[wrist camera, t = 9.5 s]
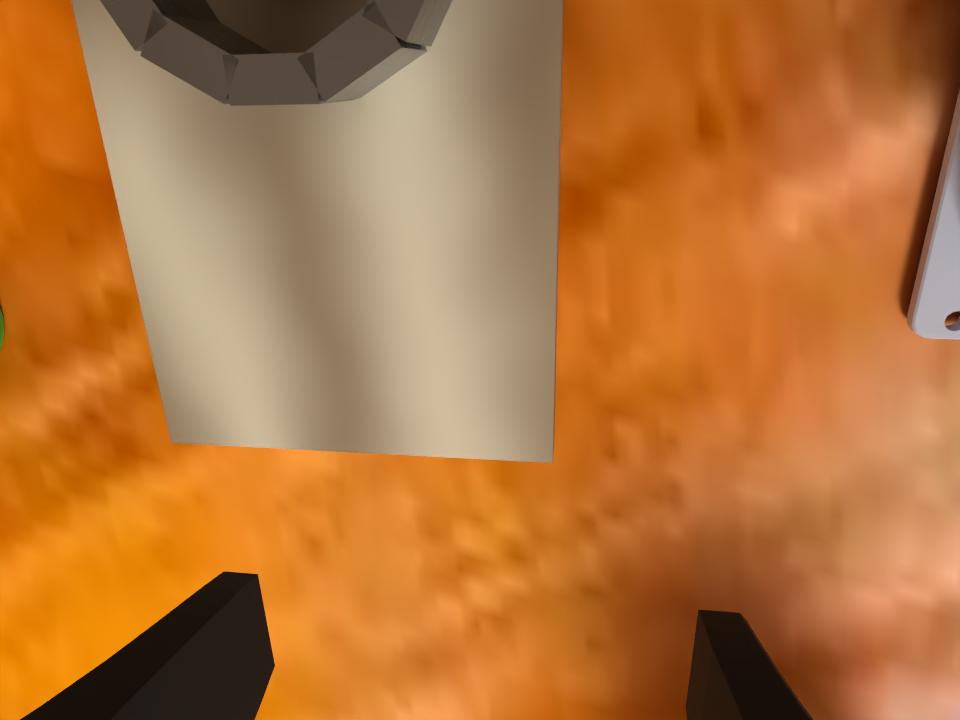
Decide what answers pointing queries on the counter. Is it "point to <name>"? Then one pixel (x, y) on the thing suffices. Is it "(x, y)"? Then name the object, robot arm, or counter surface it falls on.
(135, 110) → the peg holder
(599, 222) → the counter surface
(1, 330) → the cup
